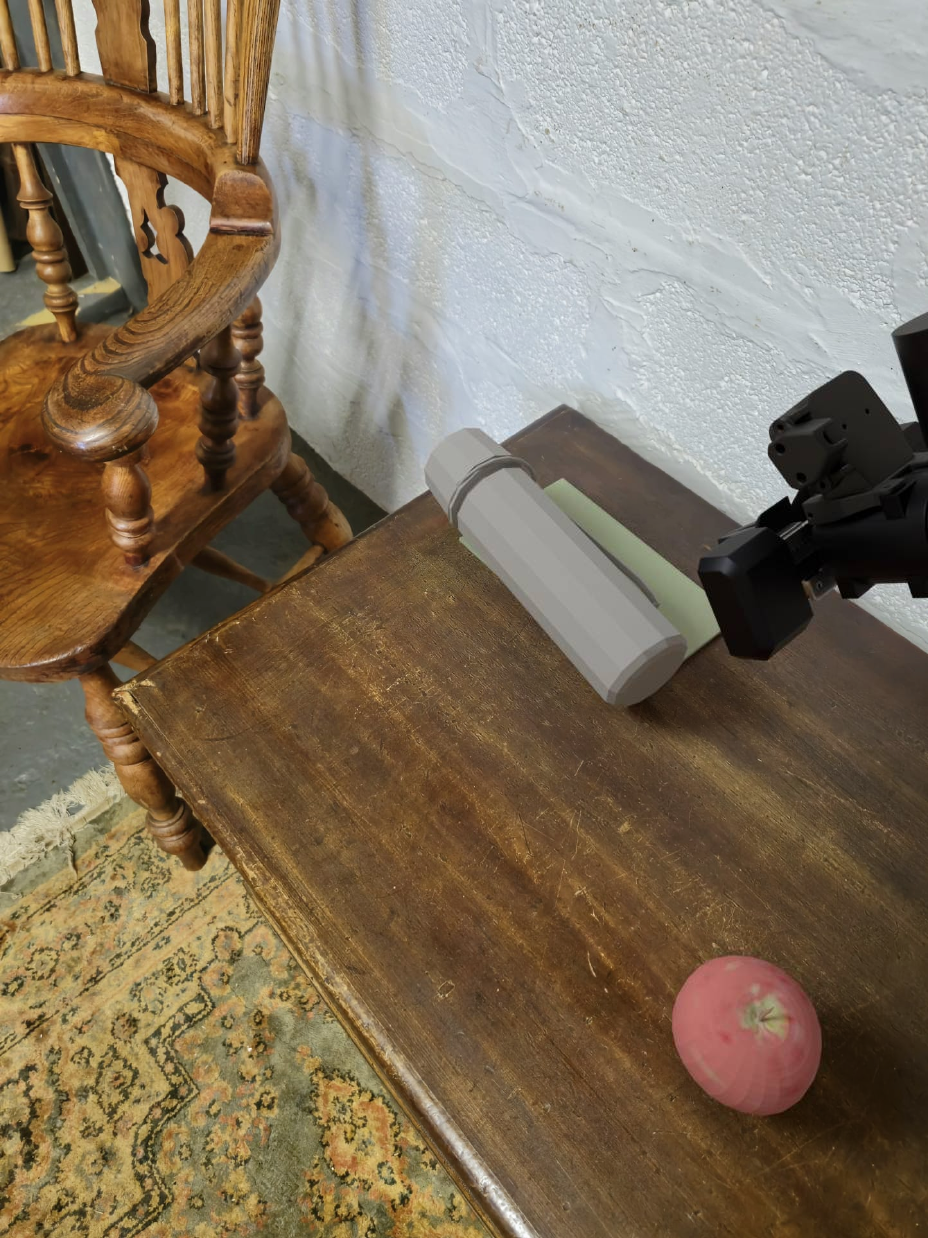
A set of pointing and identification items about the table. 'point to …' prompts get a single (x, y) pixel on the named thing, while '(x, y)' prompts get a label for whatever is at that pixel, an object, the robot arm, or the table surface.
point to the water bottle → (556, 569)
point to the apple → (747, 1034)
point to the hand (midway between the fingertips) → (722, 544)
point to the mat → (639, 566)
